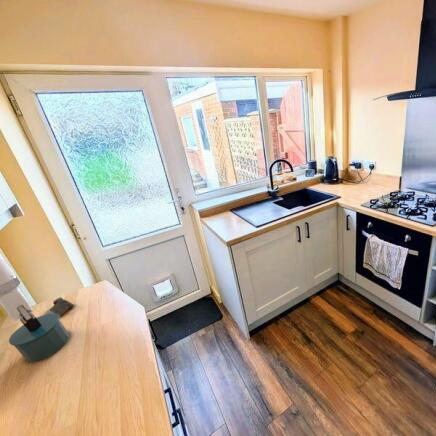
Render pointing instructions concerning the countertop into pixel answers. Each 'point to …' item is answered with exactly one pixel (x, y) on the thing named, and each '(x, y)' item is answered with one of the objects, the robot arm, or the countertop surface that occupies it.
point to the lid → (25, 336)
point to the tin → (45, 344)
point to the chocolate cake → (59, 306)
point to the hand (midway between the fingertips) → (33, 326)
